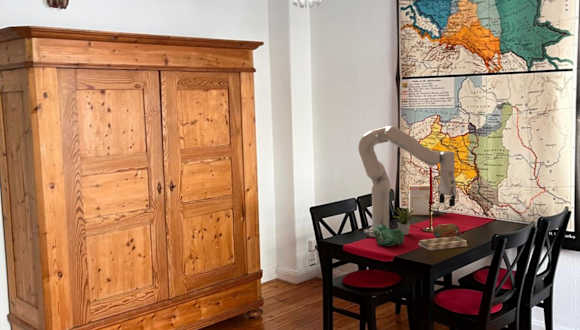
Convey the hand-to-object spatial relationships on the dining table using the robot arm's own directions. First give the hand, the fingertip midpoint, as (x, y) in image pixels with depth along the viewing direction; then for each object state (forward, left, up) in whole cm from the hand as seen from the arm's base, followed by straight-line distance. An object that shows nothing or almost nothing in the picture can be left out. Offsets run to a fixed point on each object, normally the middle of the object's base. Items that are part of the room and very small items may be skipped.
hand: (446, 204), depth 327 cm
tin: (0, 0, -20) cm, 20 cm away
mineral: (-35, +1, -20) cm, 40 cm away
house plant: (-16, +17, -20) cm, 31 cm away
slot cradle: (-9, -11, -19) cm, 24 cm away
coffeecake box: (+20, +60, -20) cm, 67 cm away
